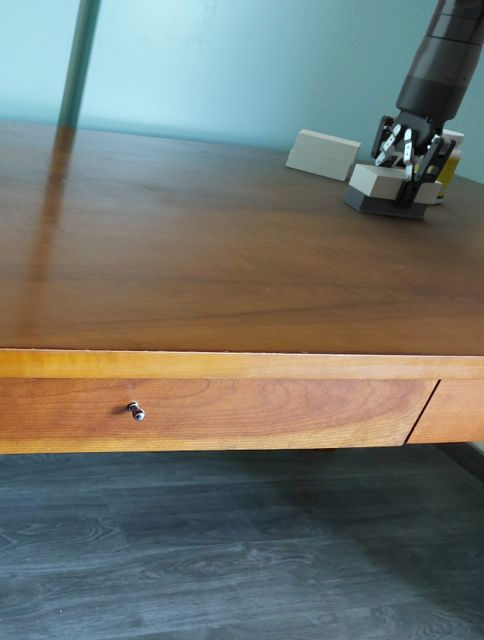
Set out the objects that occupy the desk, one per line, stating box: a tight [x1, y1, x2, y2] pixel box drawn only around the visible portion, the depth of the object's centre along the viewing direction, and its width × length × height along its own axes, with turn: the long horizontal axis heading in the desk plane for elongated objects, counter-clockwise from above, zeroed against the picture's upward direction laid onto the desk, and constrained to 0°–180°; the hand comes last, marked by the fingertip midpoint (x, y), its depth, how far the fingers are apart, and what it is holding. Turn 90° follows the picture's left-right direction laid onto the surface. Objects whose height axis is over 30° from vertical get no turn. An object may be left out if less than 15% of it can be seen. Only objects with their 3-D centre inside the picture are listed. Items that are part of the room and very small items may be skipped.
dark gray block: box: [343, 184, 429, 220], centre depth 104 cm, size 10×4×4 cm, turn 96°
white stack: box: [285, 128, 363, 182], centre depth 126 cm, size 10×4×6 cm, turn 61°
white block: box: [348, 163, 443, 205], centre depth 102 cm, size 10×6×3 cm, turn 96°
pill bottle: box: [415, 128, 465, 205], centre depth 119 cm, size 6×6×11 cm
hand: (387, 200), depth 103 cm, fingers open, 6 cm apart
